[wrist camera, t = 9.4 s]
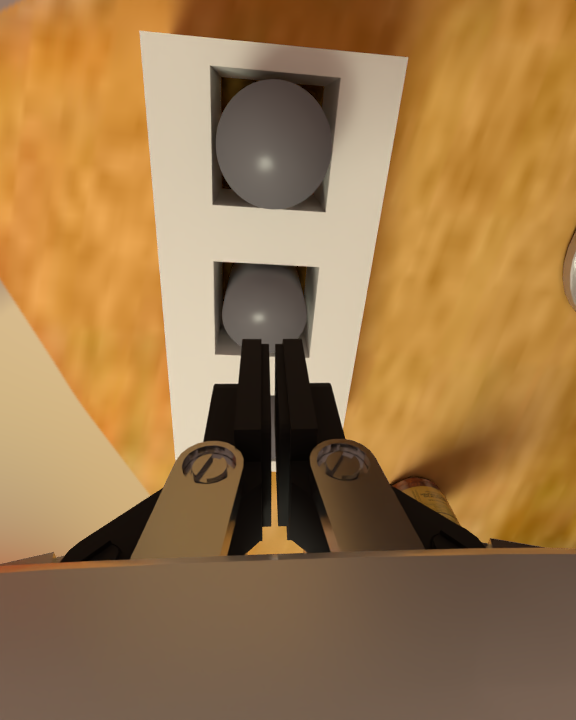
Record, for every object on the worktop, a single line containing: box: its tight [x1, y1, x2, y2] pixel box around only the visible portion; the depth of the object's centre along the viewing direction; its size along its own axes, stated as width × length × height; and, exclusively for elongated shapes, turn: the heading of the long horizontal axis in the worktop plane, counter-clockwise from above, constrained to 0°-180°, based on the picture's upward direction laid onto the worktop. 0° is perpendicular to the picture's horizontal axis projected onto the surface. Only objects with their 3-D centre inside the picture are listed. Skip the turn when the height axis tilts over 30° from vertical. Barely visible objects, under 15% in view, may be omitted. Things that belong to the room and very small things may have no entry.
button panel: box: [140, 31, 408, 471], centre depth 28 cm, size 12×26×6 cm, turn 176°
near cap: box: [216, 79, 332, 209], centre depth 20 cm, size 5×5×6 cm
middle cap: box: [222, 263, 307, 353], centre depth 27 cm, size 5×5×6 cm
